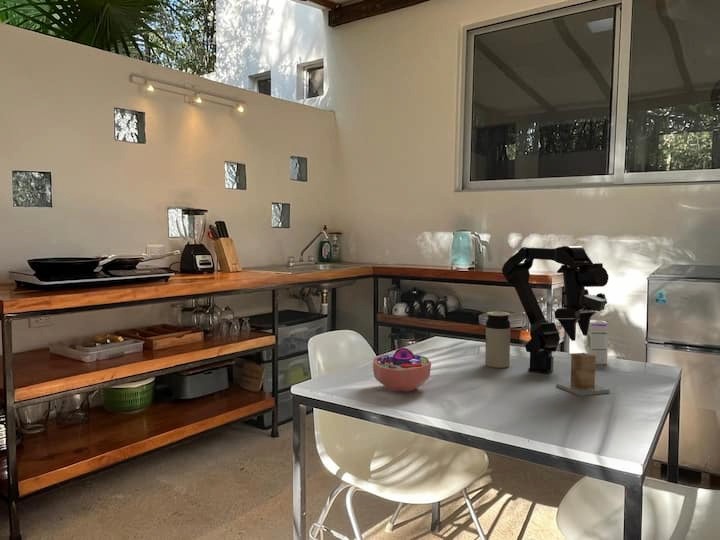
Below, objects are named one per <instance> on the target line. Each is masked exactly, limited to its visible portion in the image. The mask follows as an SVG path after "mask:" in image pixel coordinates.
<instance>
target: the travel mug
mask: <svg viewBox="0 0 720 540" xmlns="http://www.w3.org/2000/svg"><path fill="white" fill-rule="evenodd" d="M486 315H487V320H486V322H485V355H484V356H485V357H484V358H485V359H484V360H485V362H484V363H485V366H487V367H489V368H493V369H494V368H495V369H506V368H508V367H510V364H511V363H510V361H511V360H510V359H511V358H510V355H511V353H510V352H511V348H510V347H511V322H510V320H509V317H510V315H511V314H510V313H509V312H505V311H489V312H488V311H487V313H486Z"/></svg>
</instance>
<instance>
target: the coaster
mask: <svg viewBox="0 0 720 540" xmlns="http://www.w3.org/2000/svg"><path fill="white" fill-rule="evenodd" d="M555 384H556V388H558V389H561V390H564V391H566V392H569V393H572V394H575V395H577V396H579V397H584V396H593V395H602V394H603V395H604V394H610V390H611V389H609V388H607V387H603V386H601V385H598V384H596V383H595V387H594V388H584V389H581V388H578V387H575V386H573V385H571V381H568V382H565V381H564V382H557V383H555Z"/></svg>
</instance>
